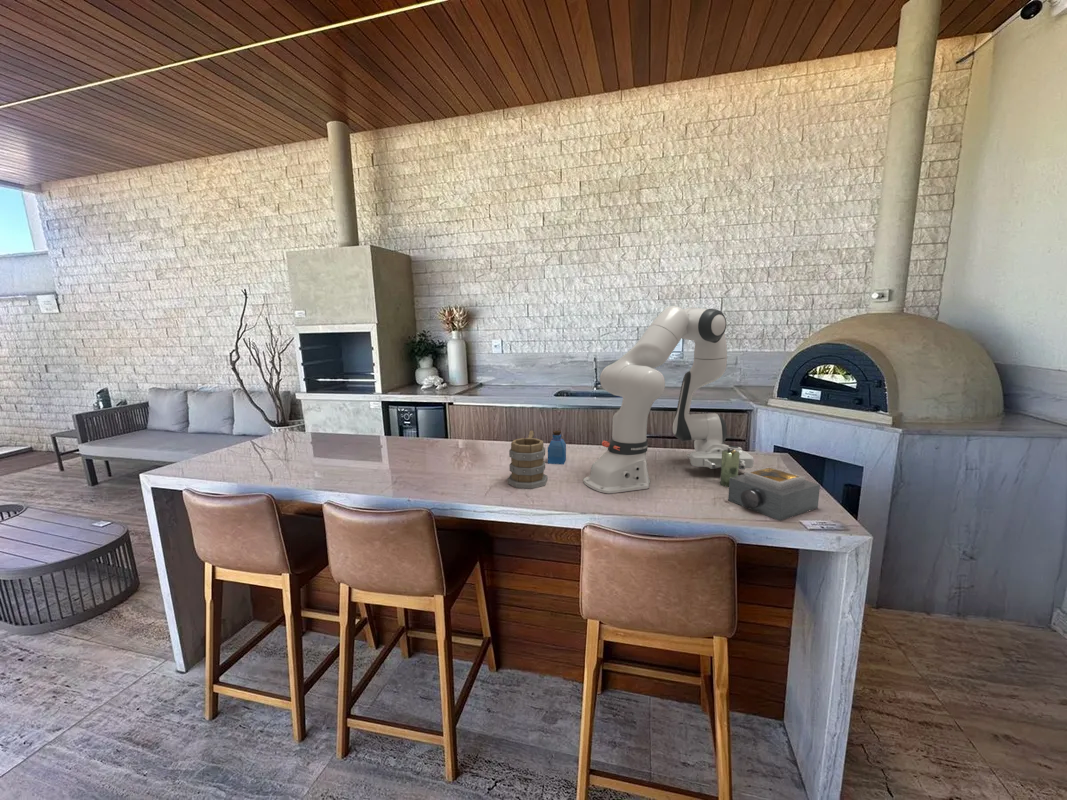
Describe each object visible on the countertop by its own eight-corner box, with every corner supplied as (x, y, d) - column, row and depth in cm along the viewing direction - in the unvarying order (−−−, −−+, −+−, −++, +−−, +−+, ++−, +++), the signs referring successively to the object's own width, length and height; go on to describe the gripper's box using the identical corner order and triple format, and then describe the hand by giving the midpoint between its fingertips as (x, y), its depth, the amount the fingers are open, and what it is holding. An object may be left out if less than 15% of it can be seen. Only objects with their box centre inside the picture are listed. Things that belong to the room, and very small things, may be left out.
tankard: (543, 489, 140) (543, 444, 137) (504, 487, 142) (504, 442, 140) (551, 470, 159) (551, 429, 157) (517, 468, 161) (517, 428, 159)
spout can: (718, 481, 146) (720, 445, 144) (734, 482, 145) (736, 445, 143) (723, 488, 140) (726, 450, 138) (740, 488, 139) (743, 450, 137)
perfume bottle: (563, 464, 166) (563, 433, 164) (547, 463, 167) (547, 432, 165) (565, 459, 172) (566, 429, 170) (550, 459, 173) (550, 429, 171)
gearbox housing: (775, 522, 115) (777, 489, 114) (723, 501, 129) (725, 472, 127) (817, 508, 124) (820, 477, 122) (765, 490, 138) (767, 462, 136)
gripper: (685, 445, 158) (695, 456, 144) (745, 447, 156) (760, 458, 142) (685, 462, 159) (694, 475, 145) (744, 464, 157) (759, 477, 143)
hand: (727, 466), depth 144 cm, fingers open, 8 cm apart
